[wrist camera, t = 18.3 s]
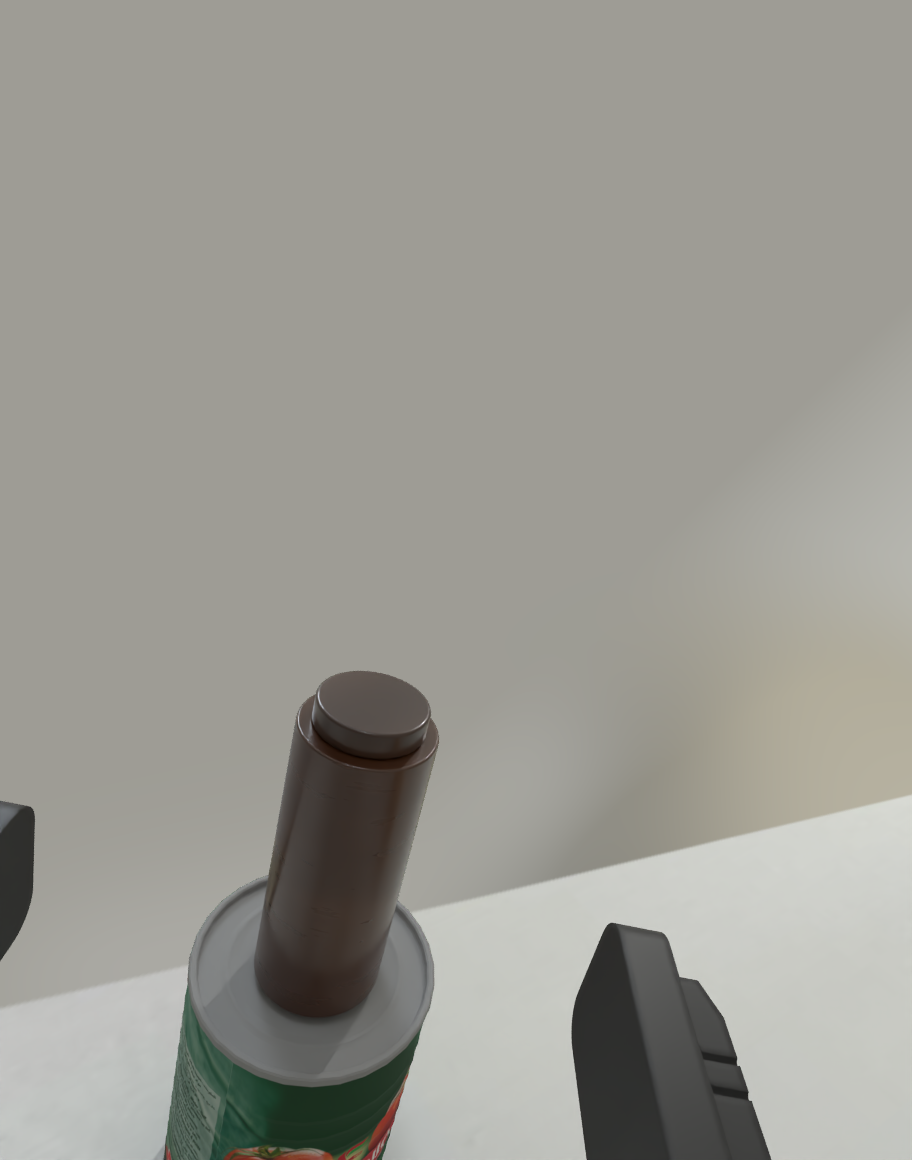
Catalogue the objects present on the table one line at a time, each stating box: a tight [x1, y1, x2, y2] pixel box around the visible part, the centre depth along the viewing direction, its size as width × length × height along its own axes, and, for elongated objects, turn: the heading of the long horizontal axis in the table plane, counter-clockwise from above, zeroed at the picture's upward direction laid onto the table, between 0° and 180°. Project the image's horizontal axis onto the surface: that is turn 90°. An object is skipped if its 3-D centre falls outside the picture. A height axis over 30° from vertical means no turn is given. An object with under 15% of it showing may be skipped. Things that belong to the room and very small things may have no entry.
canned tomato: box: [163, 875, 434, 1160], centre depth 27 cm, size 8×8×11 cm
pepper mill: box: [254, 671, 439, 1018], centre depth 23 cm, size 4×4×10 cm
